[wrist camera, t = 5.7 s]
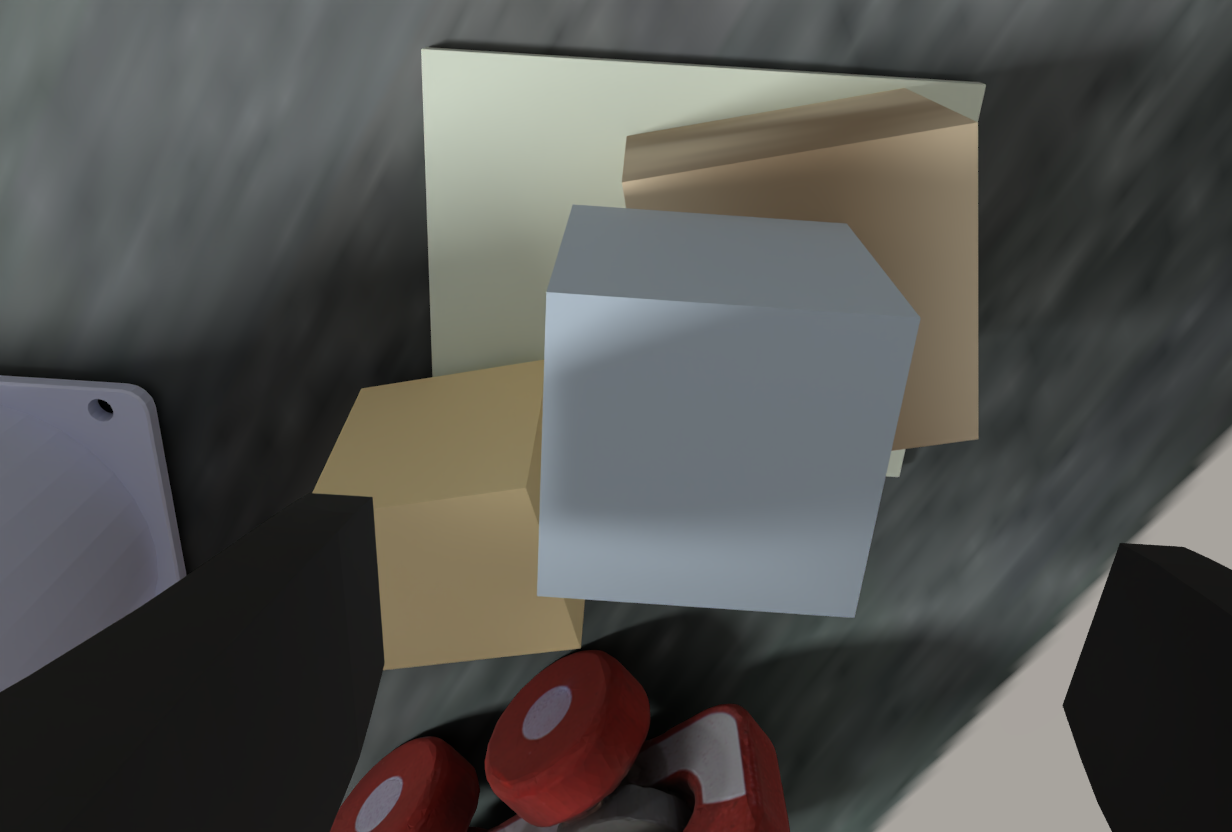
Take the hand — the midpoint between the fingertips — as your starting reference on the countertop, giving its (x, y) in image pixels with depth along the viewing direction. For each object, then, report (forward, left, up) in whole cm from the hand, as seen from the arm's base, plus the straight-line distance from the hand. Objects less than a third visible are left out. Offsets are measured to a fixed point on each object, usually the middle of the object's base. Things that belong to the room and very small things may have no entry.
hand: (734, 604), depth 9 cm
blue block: (0, 0, -6) cm, 6 cm away
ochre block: (-4, -4, -10) cm, 12 cm away
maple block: (+2, +1, -10) cm, 10 cm away
